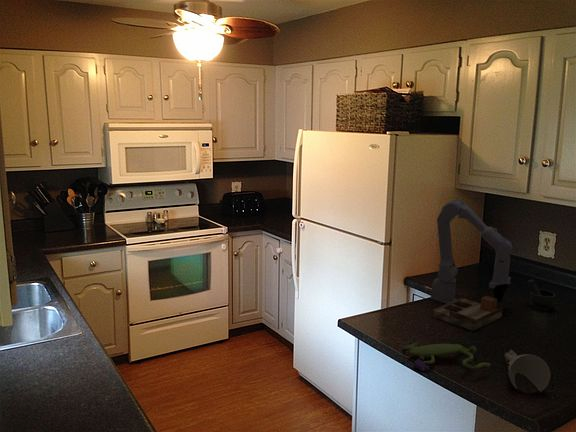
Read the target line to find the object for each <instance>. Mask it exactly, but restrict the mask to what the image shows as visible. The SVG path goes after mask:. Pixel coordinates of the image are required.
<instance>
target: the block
mask: <svg viewBox="0 0 576 432" xmlns="http://www.w3.org/2000/svg"><path fill="white" fill-rule="evenodd" d="M480 304H481V305H480V309H483V310H486V311H489V312H491V311H494V310H496V309H497V306H498V302H497V298H494V296H489V295H484V296H482V297H480Z"/></svg>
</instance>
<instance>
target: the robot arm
mask: <svg viewBox="0 0 576 432" xmlns="http://www.w3.org/2000/svg"><path fill="white" fill-rule="evenodd" d="M457 216H458V217H457ZM455 217H457V218H458V219H463V220H467V221H468V222H469V223H470V224H471V225H473V226H474V227H475V228H476V229H477V230H478V231H479V232H480V234H481V235H480V236H481V238H482V239H484V240H485V242H487V243H488V244H489V246H491V247H492V248H493V249H494V253H495V259H494V266H493V274H492V275H493V276H492V279H491V281H490V282H489V283H488V288H489V289H491V290H492V292H493V298H497V303H501V302H502V300H503V298H504V295H505V292H506V291H507V289H508V288H509V287H510V286H509V285H511V282H512V281H511V279H512V277H510V276H509V274H510V266H511V265H510V264H511V252H512V251H513V244H512V242H511V240H509V239H507V238H506V237H503V236H502V235H501V233H499V232H498V229H497V227H495V228H494V227H493V226H487V224H485V222H484V221H483V220H482V219H481V218H480V217H479V216H478V215H477V214H476V213H475V212H474V210H472V209H471V208H470V206H469V205H467V204H466V203H465V202H464V201H463V200H461V199H459V198H458V199H454V200H451V201H449V202H447V203H446V204H445V205H444V206H442V208H441V210H440V213H439V215H438V217H437V218H436V223H437V235H438V244H439V257H440V261H439V263H438V264H439V265H438V272H437V277H436V278H434V279H433V281H432V283H431V292H430V297H429V299H431V300H434V301H437V302H439V303H444V305H446V304H448V303H450V302H453V301H455V300H458V299H459V298H455V295H456V284H457V279H456V277H457V275H458V274H459V269H458V267H457V265H456V261H455V259H454V257H453V256H454V254H453V245H452V233H451V232H452V231H451V222H452V220H454V219H455Z"/></svg>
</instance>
